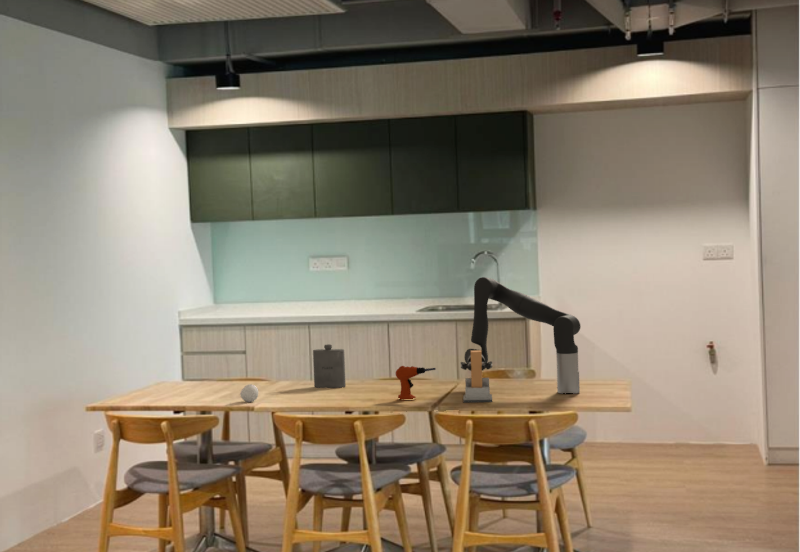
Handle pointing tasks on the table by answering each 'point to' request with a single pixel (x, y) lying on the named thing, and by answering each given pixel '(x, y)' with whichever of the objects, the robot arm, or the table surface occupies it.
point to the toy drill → (406, 383)
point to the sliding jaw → (484, 382)
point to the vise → (477, 394)
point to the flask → (329, 367)
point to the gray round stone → (249, 393)
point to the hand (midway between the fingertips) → (476, 368)
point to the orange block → (476, 368)
